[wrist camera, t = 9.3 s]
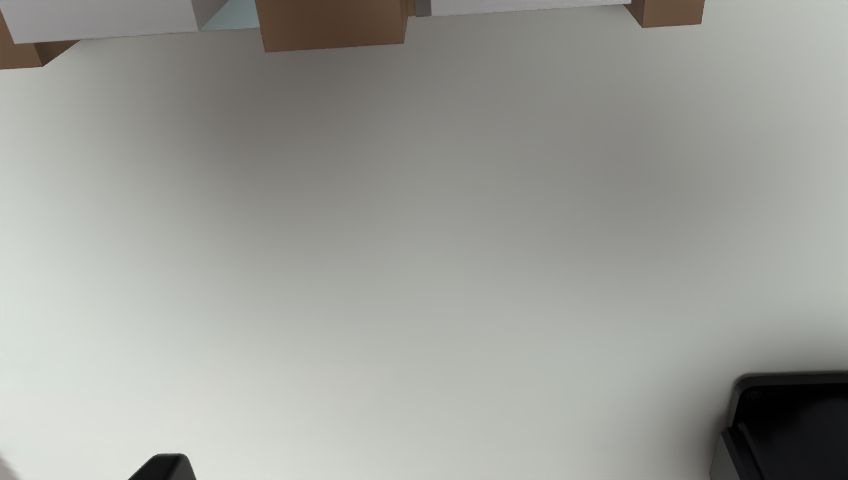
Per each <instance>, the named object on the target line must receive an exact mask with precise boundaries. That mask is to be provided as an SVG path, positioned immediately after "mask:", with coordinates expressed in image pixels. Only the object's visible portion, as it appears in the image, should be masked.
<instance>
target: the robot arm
mask: <svg viewBox="0 0 848 480" xmlns="http://www.w3.org/2000/svg"><path fill="white" fill-rule="evenodd" d="M752 391H753V392H752ZM709 475H710V478H711V480H848V374H831V375H800V376H770V377H750V378H746V379H744V380H741V381H740V382H739V383H738V384H737V386H736V387H735V391H734V395H733V399H732V403H731V407H730V411H729V415H728V419H727V423H726V427H724V428H723V429H722V431H721V432H720V433H719V437H718V441H717V445H716V449H715V453H714V457H713V461H712V465H711V469H710V474H709ZM128 480H196V477H195V475H194V472H193V469H192V467H191V464H190V461H189V459H188V457H187V456H185V455H184V454H181V453H175V454H157V455H155V456H153V457H152V458H150V459H149V460H148V461H147V462H146V463H145V464H144V465H143V466H142V467H141V468H140V469H139V470H138V471H136V472H135V473H134V474H133V475H132V476H131V477H130V478H129V479H128Z"/></svg>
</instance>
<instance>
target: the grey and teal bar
mask: <svg viewBox="0 0 848 480" xmlns="http://www.w3.org/2000/svg"><path fill="white" fill-rule="evenodd" d="M228 1H229V0H0V9H1V12H2V14H3V17H4V19H5V21H6V24H7V26H8V29H9V31H10V34H11V36H12V38H13V41H14V43H15V44H20V43H35V42H50V41H64V40H79V39H94V38H108V37H123V36H138V35H152V34H167V33H182V32H196V31H200V29H201V28H202V27H203V26H204V25H205V24H206V23H207V22H208V21H209V20H210V19H211V18H212V17H213V16H214V15H215V14H216V13H217V12H218V11H219V10H220V9H221V8H222V7H223V6H224V5H225V4H226V3H227V2H228Z"/></svg>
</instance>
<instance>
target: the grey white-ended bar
mask: <svg viewBox="0 0 848 480" xmlns="http://www.w3.org/2000/svg"><path fill="white" fill-rule="evenodd" d="M629 3H631V0H431V11H432V17H436V16H451V15H466V14H480V13H495V12H510V11H525V10H540V9H555V8H570V7H585V6H600V5H615V4H629Z"/></svg>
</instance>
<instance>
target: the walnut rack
mask: <svg viewBox="0 0 848 480" xmlns="http://www.w3.org/2000/svg"><path fill="white" fill-rule="evenodd" d="M704 2H705V0H631V3H629V4H624V5H625V7H626V8H627V9H628V11H629V12H630V13H631V14H632V16H633V17H634V18H635V19H636V21H637V22H638V23H639V24H640V26H641V27H642V28H649V27H664V26H680V25H695V24H701V22H702V15H703V8H704ZM408 16H416V17H425V16H432V11H431V0H229V1H228V2H227V3H226V4H225V5H224V6H223V7H222V8H221V9H220V10H219V11H218V12H217V13H216V14H215V15H214V16H213V17H212V18H211V19H210V20H209V21H208V22H207V23H206V24H205V25H204V26H203V27H202V28H201V29H200V31H196V32H202V31H216V30H231V29H246V28H260V29H261V34H262V39H263V43H264V48H265V52H279V51H294V50H309V49H325V48H340V47H356V46H371V45H387V44H402V43H404V38H405V32H406V25H407V19H408ZM182 33H187V32H182ZM167 34H172V33H167ZM152 35H157V34H152ZM138 36H142V35H138ZM123 37H127V36H123ZM108 38H112V37H108ZM94 39H97V38H94ZM80 40H81V39H79V40H64V41H50V42H35V43H20V44H15V43H14V41H13V38H12V36H11V34H10V31H9V29H8V26H7V24H6V21H5V19H4V17H3V14H2V12H1V9H0V70H1V69H16V68H32V67H43V66H44V65H46V64H47V63H49V62H50V61H51V60H53V59H54V58H56V57H57V56H58V55H60V54H61V53H63V52H64V51H65V50H67V49H68V48H70V47H71V46H72V45H74V44H75V43H77V42H78V41H80Z"/></svg>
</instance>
